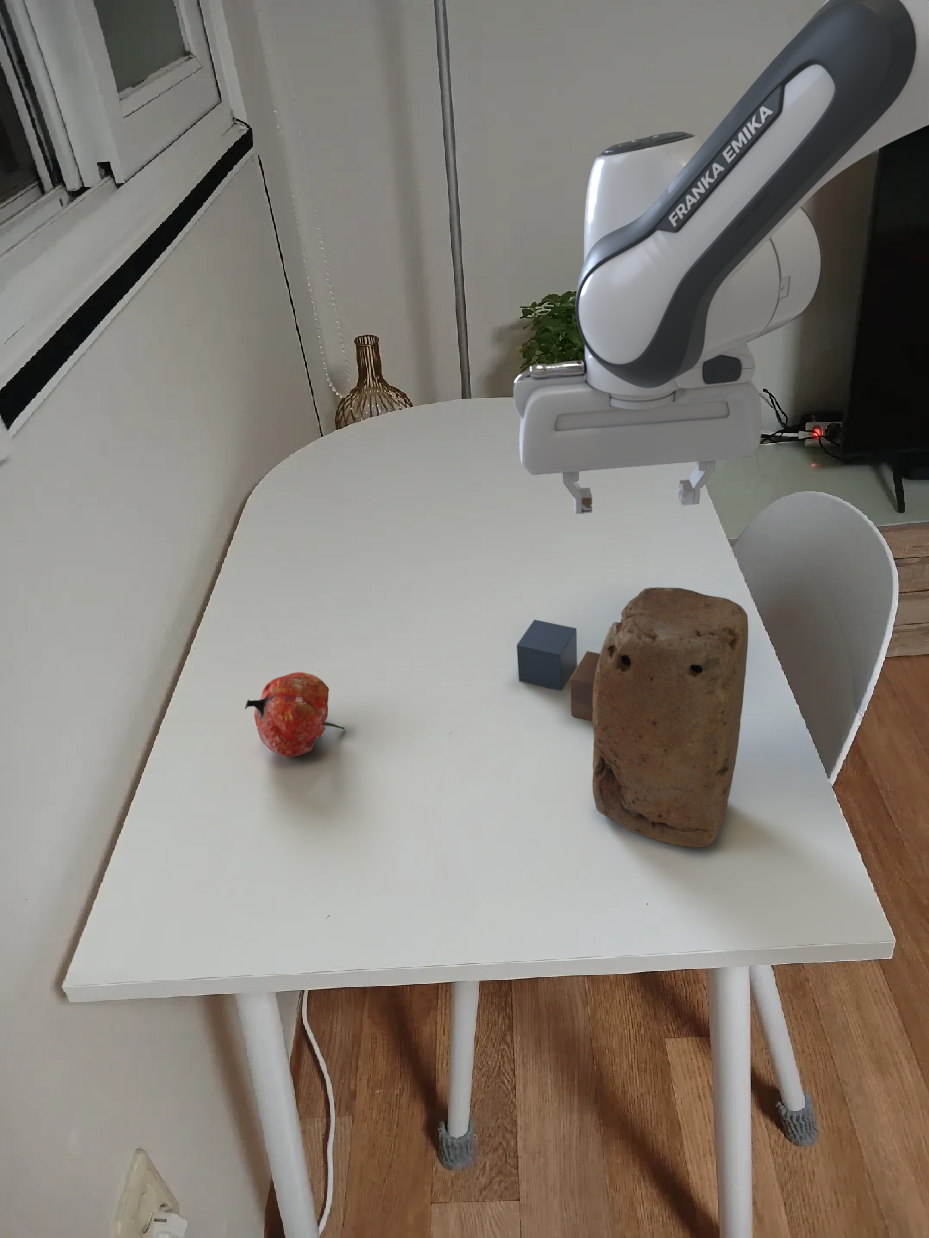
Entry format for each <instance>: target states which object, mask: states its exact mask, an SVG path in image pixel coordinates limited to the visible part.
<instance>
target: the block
mask: <svg viewBox="0 0 929 1238" xmlns="http://www.w3.org/2000/svg"><path fill="white" fill-rule="evenodd" d="M620 614H621V619H620V622H618V621H614V622H613V623H612V624H611V626H610V627H609V630H608V633H607V635H606V637H605V640H604V641H603V645H602V648H601V651H600V653H599V654H600V656H599V660H598V663H597V668H596V672H595V680H594V686H593V720H592V721H591V722H592V730H593V752H592V782H591V783H592V795H593V800H594V804H595V809H596V810H597V812H598V813H600V814H601V815H603V816H605V817H607V818H609V819H611V820H612V821H614V822H615V823H617V824H619V825H620V826H622V827H623V828H625V829H626V830H629V831H630V832H633V833H636V834H639V835H642V836H645V837H647V838H650V839H653V840H655V841H658V842H663V843H666V844H669V845H674V846H678V847H679V846H680V847H681V846H682V847H688V848H689V847H690V848H701V847H705V846H708V845H710V844H712V843H713V842H714V841H715V839H716V838H717V836H718V833H719V832H720V830H721V828H722V825H723V822H724V820H725V815H726V811H727V808H728V803H729V797H730V795H731V794H730V793H731V789H732V784H733V778H734V772H735V767H736V762H737V755H738V748H739V741H740V731H741V720H742V713H743V705H744V692H745V682H746V674H747V663H748V660H747V659H748V648H749V647H748V646H749V618H748V613H747V612H746V610H745V609H744V608H743V606H742V605H740V604H739V603H737V602H735V601H733V600H731V599H729V598H725V597H721V596H714V595H708V594H703V593H701V592H698V591H695V590H692V589H687V588H681V587H660V586H659V587H646V588H644V589H642V590H641V591H640V592H639V593H638V594H637V596H635V597H634V598H632V599H630V600H629V601H628V603H627V604H626V605H625V607H624V608H623V609H622V611H621V612H620Z"/></svg>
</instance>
